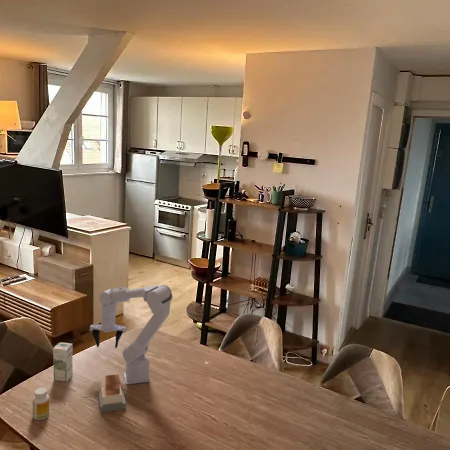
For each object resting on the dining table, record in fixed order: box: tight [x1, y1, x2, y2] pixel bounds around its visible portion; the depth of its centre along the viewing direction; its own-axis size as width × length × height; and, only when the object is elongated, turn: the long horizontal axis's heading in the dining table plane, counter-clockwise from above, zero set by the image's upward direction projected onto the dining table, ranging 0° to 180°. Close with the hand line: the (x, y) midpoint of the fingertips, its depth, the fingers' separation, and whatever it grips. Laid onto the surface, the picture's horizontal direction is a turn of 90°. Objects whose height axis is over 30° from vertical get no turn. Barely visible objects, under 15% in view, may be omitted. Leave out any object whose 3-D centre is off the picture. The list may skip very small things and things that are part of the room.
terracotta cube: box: [104, 373, 121, 395], centre depth 157 cm, size 5×5×5 cm
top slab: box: [100, 385, 122, 405], centre depth 158 cm, size 7×7×3 cm
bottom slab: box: [98, 388, 127, 414], centre depth 159 cm, size 9×9×3 cm
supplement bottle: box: [32, 387, 50, 421], centre depth 148 cm, size 5×5×10 cm
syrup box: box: [52, 342, 74, 383], centre depth 171 cm, size 6×6×14 cm
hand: (107, 346), depth 180 cm, fingers open, 7 cm apart
